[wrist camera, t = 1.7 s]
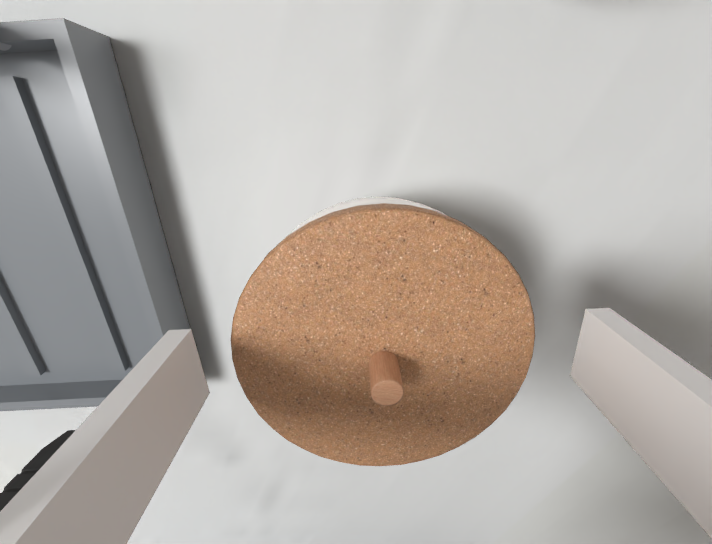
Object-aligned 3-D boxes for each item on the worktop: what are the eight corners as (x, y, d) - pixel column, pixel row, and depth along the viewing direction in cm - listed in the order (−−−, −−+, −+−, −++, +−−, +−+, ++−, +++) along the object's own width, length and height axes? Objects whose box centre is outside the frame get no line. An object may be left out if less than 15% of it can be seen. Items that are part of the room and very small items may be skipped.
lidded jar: (441, 364, 21) (502, 521, 13) (271, 344, 21) (211, 495, 12) (491, 194, 17) (629, 253, 9) (283, 163, 17) (207, 192, 8)
